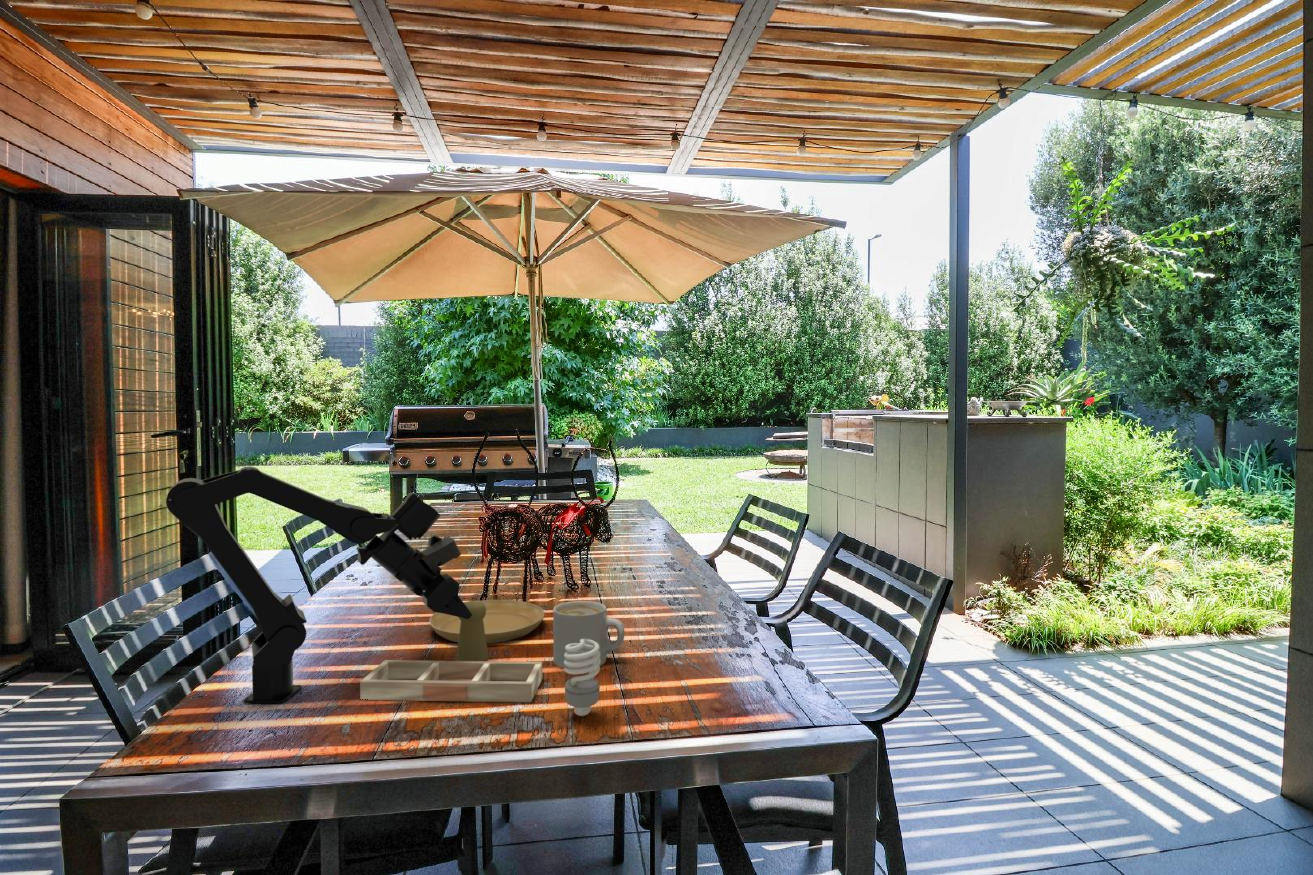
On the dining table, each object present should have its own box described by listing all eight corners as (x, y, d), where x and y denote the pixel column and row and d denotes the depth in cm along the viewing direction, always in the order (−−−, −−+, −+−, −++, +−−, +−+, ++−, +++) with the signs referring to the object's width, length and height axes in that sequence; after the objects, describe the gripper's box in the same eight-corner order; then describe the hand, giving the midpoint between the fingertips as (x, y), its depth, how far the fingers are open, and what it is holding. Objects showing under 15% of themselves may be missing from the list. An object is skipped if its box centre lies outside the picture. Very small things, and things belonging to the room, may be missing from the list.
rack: (530, 703, 116) (530, 684, 116) (359, 700, 117) (359, 682, 117) (542, 678, 126) (542, 661, 126) (385, 676, 127) (384, 659, 127)
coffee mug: (543, 665, 133) (543, 612, 132) (568, 648, 142) (568, 598, 142) (610, 675, 128) (610, 619, 128) (631, 656, 138) (631, 605, 137)
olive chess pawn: (480, 666, 132) (479, 607, 132) (449, 664, 133) (449, 605, 133) (494, 655, 138) (493, 598, 138) (464, 653, 139) (464, 597, 139)
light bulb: (582, 705, 115) (582, 631, 115) (608, 715, 112) (608, 639, 111) (556, 717, 111) (556, 640, 110) (582, 727, 107) (582, 648, 107)
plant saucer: (508, 654, 140) (507, 637, 139) (405, 641, 147) (404, 625, 147) (563, 619, 162) (563, 605, 162) (471, 609, 170) (471, 595, 170)
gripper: (446, 532, 123) (509, 587, 129) (419, 517, 139) (476, 567, 145) (399, 584, 119) (466, 637, 125) (377, 562, 135) (438, 611, 141)
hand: (462, 610), depth 134 cm, fingers open, 9 cm apart
